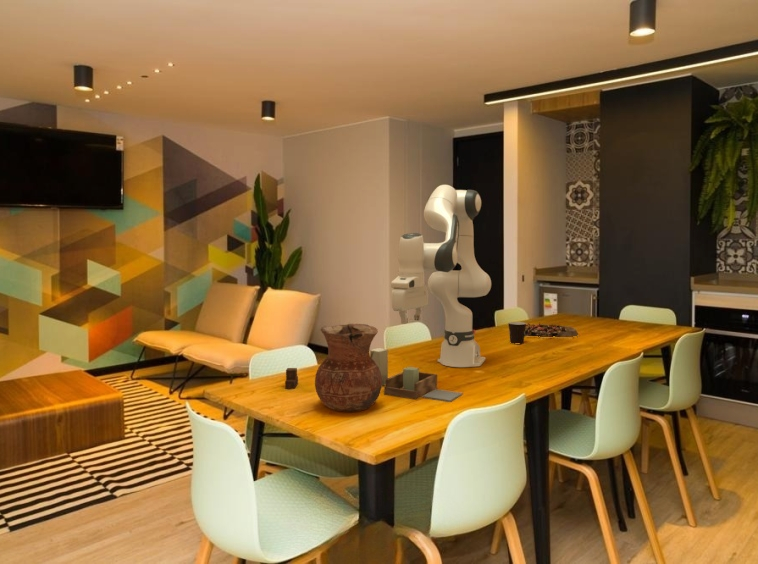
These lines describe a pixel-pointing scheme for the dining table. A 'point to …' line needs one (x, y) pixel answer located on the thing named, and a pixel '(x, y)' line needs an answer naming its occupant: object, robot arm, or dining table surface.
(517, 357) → the dining table surface
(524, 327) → the dark brown cup
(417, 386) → the caddy
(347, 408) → the brown clay vase
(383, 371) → the box
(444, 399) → the pad
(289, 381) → the stack of crates
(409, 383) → the block
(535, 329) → the food dish
